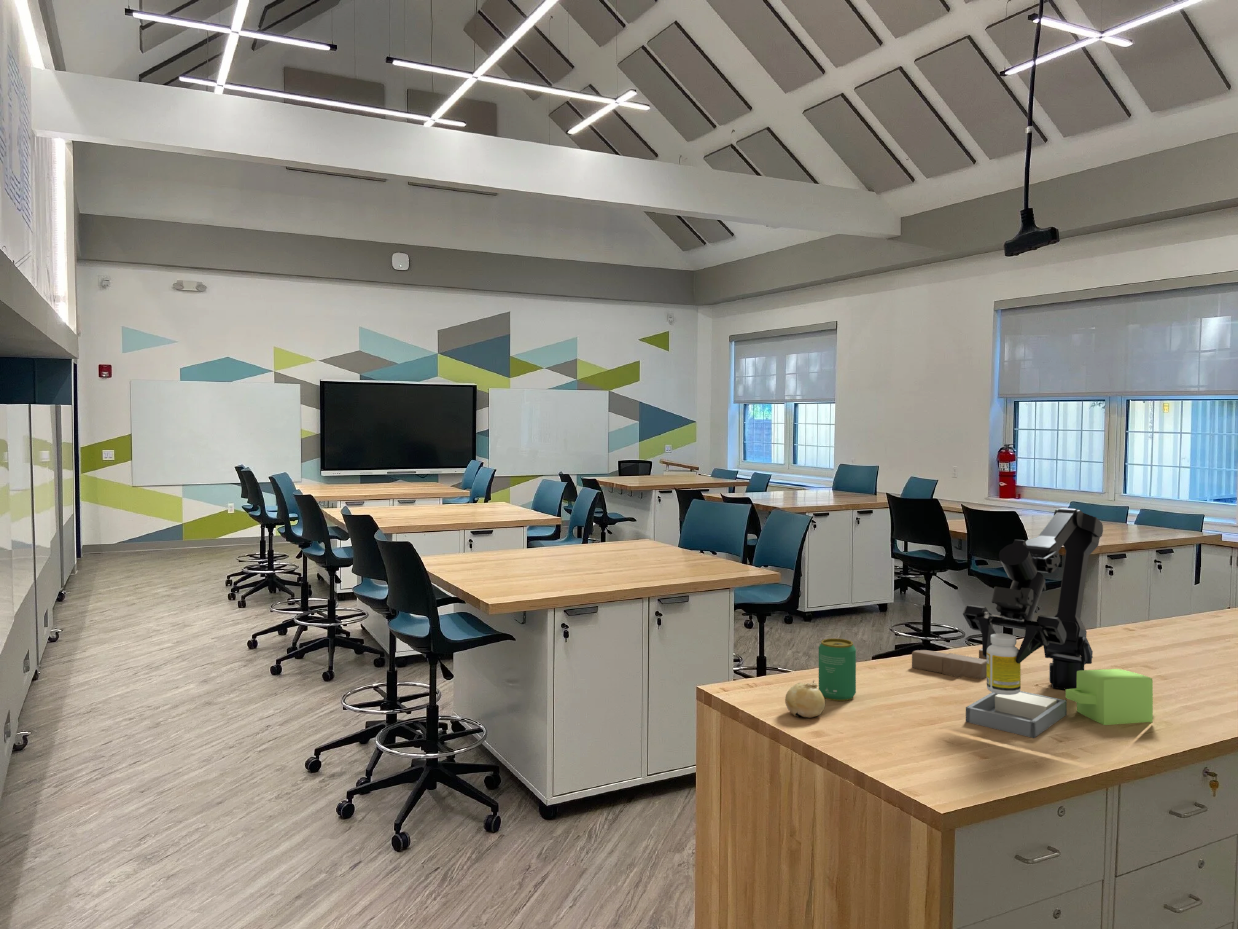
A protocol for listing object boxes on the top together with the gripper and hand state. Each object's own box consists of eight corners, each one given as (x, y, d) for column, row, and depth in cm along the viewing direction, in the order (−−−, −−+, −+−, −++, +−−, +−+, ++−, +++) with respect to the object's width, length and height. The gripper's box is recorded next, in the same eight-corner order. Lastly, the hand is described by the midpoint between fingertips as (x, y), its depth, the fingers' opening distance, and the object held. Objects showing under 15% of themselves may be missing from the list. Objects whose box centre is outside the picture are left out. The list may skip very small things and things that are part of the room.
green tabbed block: (1136, 710, 180) (1136, 664, 180) (1173, 723, 170) (1173, 676, 170) (1057, 713, 177) (1057, 667, 177) (1090, 727, 167) (1090, 679, 167)
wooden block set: (985, 660, 198) (910, 647, 210) (985, 684, 198) (910, 670, 211) (1011, 645, 210) (939, 634, 222) (1011, 668, 210) (939, 655, 223)
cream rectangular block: (1006, 703, 181) (1006, 689, 181) (1056, 714, 174) (1056, 699, 174) (994, 710, 177) (994, 696, 177) (1046, 721, 170) (1046, 706, 170)
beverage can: (862, 695, 190) (862, 641, 189) (844, 704, 184) (844, 648, 183) (830, 688, 195) (829, 636, 195) (811, 696, 189) (811, 642, 189)
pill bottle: (1027, 693, 169) (1028, 638, 168) (1003, 697, 167) (1003, 641, 166) (1003, 684, 175) (1003, 631, 174) (979, 688, 172) (979, 634, 172)
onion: (802, 724, 172) (802, 689, 172) (777, 712, 179) (777, 679, 179) (832, 717, 176) (832, 683, 176) (807, 706, 183) (807, 673, 183)
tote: (1001, 703, 183) (1001, 687, 183) (1066, 717, 174) (1066, 700, 174) (965, 724, 170) (965, 707, 170) (1034, 741, 161) (1034, 722, 161)
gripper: (966, 566, 179) (941, 628, 172) (1061, 577, 165) (1038, 644, 158) (983, 597, 185) (959, 658, 178) (1076, 610, 171) (1054, 677, 164)
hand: (1000, 659), depth 169 cm, fingers closed on pill bottle, 6 cm apart
